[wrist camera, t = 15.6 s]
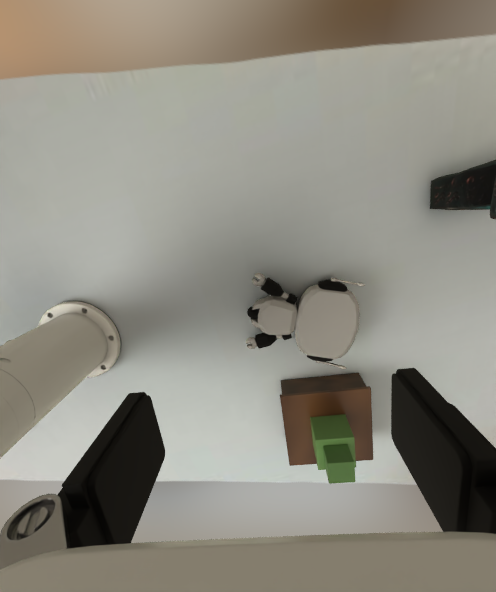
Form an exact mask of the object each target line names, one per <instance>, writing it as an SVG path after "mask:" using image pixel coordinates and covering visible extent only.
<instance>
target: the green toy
mask: <svg viewBox="0 0 496 592" xmlns="http://www.w3.org/2000/svg"><path fill="white" fill-rule="evenodd" d="M310 420H311V430H312V439H313V447H314V451H315V456H316V461H317V466H318V470H324V469H326V472H327V477H328V481H329V483H345V482H355V469H354V467H356V459H355V441H354V435H353V433H352V430H351V428H350V425H349V423H348V420H347V418H346V415H345V414H342V415H330V416H319V417H310Z"/></svg>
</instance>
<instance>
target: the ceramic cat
mask: <svg viewBox="0 0 496 592" xmlns="http://www.w3.org/2000/svg"><path fill="white" fill-rule="evenodd" d="M430 209H445V210H482V209H490V217H491V218H493V219H496V160H494V161H491V162H488V163H485V164H482V165H479V166H476V167H473V168H470V169H468V170H465V171H462V172H460V173H456V174H451V175H446V176H443V177H439V178H437V179H435V180H433V181H431V197H430Z"/></svg>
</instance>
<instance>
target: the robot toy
mask: <svg viewBox="0 0 496 592" xmlns="http://www.w3.org/2000/svg"><path fill="white" fill-rule="evenodd" d="M255 277H257V278H259V281H258V280H256V279H255V278H254V277H253V279H252V283H253V284H254V285H255V286H262V287H261V290H263V291H265V292H266V293H268V294H269V295H271V296H267V297H266V298H264V299H259V300H257V301H256V302H255V304H254V305H253V307H250V308H249V309H248V311H247V313H248V316H249V317H250V318H251V321H252V324H253V326H255V327H257V328H259V329H261V330H262V331H263V332H264V333H260V334H256V336H255V338H253V337H249V338H247V339H246V344H247V347H248V348H249V349H254V348H256V347H257V346H258V348H263V347H266V346H270V345H271V344H272V343H274V342H275V341H276V340H277V339H279V338H283V339H284V340H286V339H290V338H292V336H291V333H292V332H293V331H294V329H295V337H296V343H297V346H298V347H299V349H300V351H301V352H303V353H305V354H307V357H308V358H310V359H312V360H315V361H316V362H317V363H320V362H321V363H325V364H328V365H332V366H336V367H339V368H341V369H346V367H345V366H342V365H336V364H333V363H329V362H326V361H332V360H333V359H337V358H340V357H342V356H343V355H344V354H346V353H347V352H348V350H349V349H350V347H351V346H352V344H353V342H354V340H355V337H356V335H357V332H358V330H359V317H360V313H359V304H358V301H357V299H356V297H355V296H354V294H353V293H352V292H351V291H349V290H348V289H347V287H346V285H345V284H343V283H341V282H344V283H350V284H355V285H359V286H364V284H363V283H355V282H349V281H344V280H338V279H337V278H331V280H324V281H319V283H318V284H317V285H314V286H310V287H309V288H308V289H307V290H306V291H305V292H304V293H303V295H302V297H301V299H300V301H299V303H298V306H296V304H295V303H296V301H297V299H298V297H296V296H295V295H293V294H291V293H290V294H289V295H288V294H286V293H285V292H284V291H283V290H282V288H281V286H280V285H279V284H278V283H276V282H275V281H273V280H272V279H270V278H267V279H266V278H265V277H264V275H263V274H261V273H256V274H255ZM248 343H251V344H248Z"/></svg>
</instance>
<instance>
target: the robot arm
mask: <svg viewBox="0 0 496 592" xmlns="http://www.w3.org/2000/svg"><path fill="white" fill-rule="evenodd" d="M120 348H121V345H120V337H119V333H118V331H117V329H116V327H115V325H114V324H113V322H112V321H111V319H110V318H109V317H108V316H107V315H106V314H105V313H103V312H102V311H101V310H99V309H98V308H96V307H94V306H92V305H90V304H87V303H84V302H77V301H69V302H64V303H60V304H58V305H56V306H53V307H52V308H50V309H49V310H47V311H46V312H45V314H44V315H43V316H42V318H41V319H40V322H39V325H38V327H37V328H35V329H33V330H31V331H29V332H27V333H25V334H23V335H21V336H19V337H17V338H15V339H13V340H9V341H7V342H6V343H5V344H4V345H2V346H0V458H1V457H2V456H3V455H4V454H5V453H6V452H7V451H8V450H9V449H10V448H12V447H13V446H14V445H15V444H16V443H17V442H18V441H19V440H20V439H21V438H22V437H23V436H24V435H25V434H26V433H27V432H28V431H29V430H31V429H32V428H33V427H34V426H35V425H36V424H37V423H38V422H39V421H40V420H41V419H42V418H43V417H44V416H46V415H47V414H48V413H49V412H50V411H51V410H52V409H53V408H54V407H55V406H56V405H57V404H58V403H59V402H60V401H61V400H62V399H63V398H65V397H66V396H67V395H68V394H69V393H70V392H71V391H72V390H73V389H74V388H75V387H76V386H77V385H78V384H79V383H80V382H81V381H83V380H84V379H85V378H89V377H95V376H99V375H101V374H103V373H105V372H106V371H108V370H109V369H110V368H111V367H112V366H113V365H114V363H115V362H116V361H117V359H118V356H119V354H120ZM391 434H392V439H393V442H394V444H395V446H396V448H397V449H398V451H399V453H400V455H401V457H402V458H403V460H404V462H405V464H406V466H407V467H408V469H409V471H410V473H411V475H412V476H413V478H414V480H415V482H416V484H417V485H418V487H419V489H420V491H421V493H422V494H423V496H424V498H425V500H426V501H427V503H428V505H429V507H430V509H431V510H432V512H433V514H434V516H435V518H436V519H437V521H438V523H439V525H440V527H441V528H442V530H443V532H406V533H405V532H399V533H369V534H338V535H310V536H283V537H258V538H236V539H235V538H234V539H209V540H189V541H167V542H146V543H131V540H132V538H133V536H134V533H135V531H136V528H137V526H138V523H139V520H140V518H141V516H142V513H143V511H144V508H145V506H146V503H147V501H148V498H149V496H150V493H151V491H152V488H153V485H154V483H155V481H156V478H157V476H158V473H159V471H160V468H161V466H162V463H163V461H164V457H165V448H164V444H163V441H162V437H161V433H160V430H159V426H158V422H157V419H156V415H155V411H154V408H153V404H152V400H151V397H150V396H147V395H146V393H144V392H139V393H130V394H128V395H127V397H126V398H125V400H124V401H123V402H122V404H121V405H120V406H119V408H118V409H117V410H116V412H115V413H114V415H113V416H112V417H111V419H110V420H109V421H108V423H107V424H106V425H105V427H104V428H103V430H102V431H101V432H100V434H99V435H98V436H97V438H96V439H95V441H94V442H93V443H92V445H91V446H90V447H89V449H88V450H87V451H86V453H85V454H84V456H83V457H82V458H81V460H80V461H79V462H78V464H77V465H76V466H75V468H74V469H73V471H72V472H71V473H70V475H69V476H68V477H67V479H66V480H65V481H64V483H63V484H62V487H63V488H62V490H61V491H60V492H59V494H58V495H56V494H46V495H42V496H39V497H37V498H35V499H33V500H31V501H29V502H28V503H26V504H25V505H23V506H22V507H21V508H19V509H18V510H17V511H16V512H15V513H14V514H13V515H12V516H11V517H10V518H9V519H8V520H7V522H6V523H5V525H4V527H3V528H2V530H1V533H0V592H496V448H495V447H494V446H493V445H492V444H491V443H490V442H489V441H488V440H487V439H486V438H485V437H484V436H483V435H482V434H481V433H480V432H479V431H478V430H477V429H476V428H475V427H474V426H473V425H472V424H471V423H470V422H469V421H468V419H467V418H466V417H465V416H464V415H463V414H462V413H461V412H460V411H459V410H458V409H457V408H456V407H455V406H453V405H452V404H449V403H448V402H447V401H446V400H445V399H444V398H443V397H442V396H441V395H440V394H439V393H438V392H437V391H436V389H435V388H434V387H433V386H432V385H431V384H430V383H429V382H428V381H427V380H426V379H425V378H424V377H423V376H422V375H421V374H420V373H419V372H418V371H417V370H416V369H415V368H408V369H398V370H397V371H396V374H392V409H391Z"/></svg>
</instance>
